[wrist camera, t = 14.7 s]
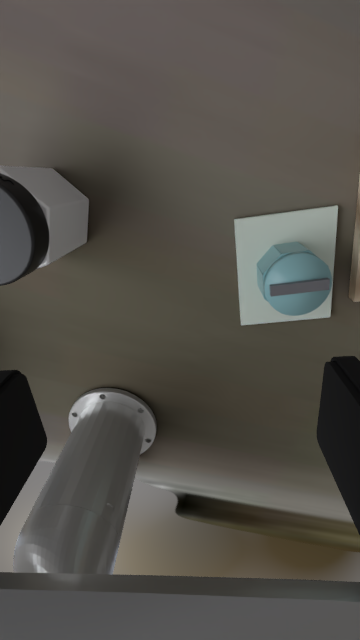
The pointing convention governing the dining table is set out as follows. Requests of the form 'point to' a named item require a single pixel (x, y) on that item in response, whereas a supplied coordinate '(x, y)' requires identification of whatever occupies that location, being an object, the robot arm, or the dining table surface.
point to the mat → (279, 228)
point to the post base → (356, 257)
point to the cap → (293, 279)
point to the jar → (38, 220)
